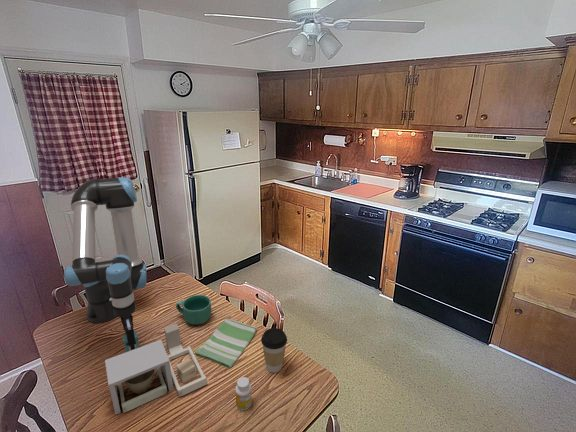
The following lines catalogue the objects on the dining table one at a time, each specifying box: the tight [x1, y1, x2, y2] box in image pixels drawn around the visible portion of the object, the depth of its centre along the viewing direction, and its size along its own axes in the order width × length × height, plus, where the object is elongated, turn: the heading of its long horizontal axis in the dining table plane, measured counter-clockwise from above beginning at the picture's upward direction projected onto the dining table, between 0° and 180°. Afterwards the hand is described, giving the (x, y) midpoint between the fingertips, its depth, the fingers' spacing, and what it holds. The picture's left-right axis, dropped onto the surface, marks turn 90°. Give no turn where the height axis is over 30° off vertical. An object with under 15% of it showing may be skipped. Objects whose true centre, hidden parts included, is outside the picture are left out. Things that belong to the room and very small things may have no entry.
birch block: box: [175, 358, 197, 384], centre depth 117 cm, size 5×5×5 cm
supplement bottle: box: [234, 376, 253, 411], centre depth 106 cm, size 5×5×10 cm
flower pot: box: [124, 368, 156, 395], centre depth 111 cm, size 10×10×7 cm
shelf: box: [104, 339, 174, 415], centre depth 110 cm, size 12×18×13 cm, turn 124°
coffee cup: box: [260, 327, 288, 374], centre depth 120 cm, size 10×10×15 cm
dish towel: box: [194, 317, 258, 369], centre depth 134 cm, size 18×23×3 cm
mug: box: [175, 294, 212, 325], centre depth 147 cm, size 17×13×10 cm
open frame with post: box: [164, 323, 208, 398], centre depth 120 cm, size 28×10×9 cm, turn 34°
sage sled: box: [117, 330, 168, 414], centre depth 116 cm, size 28×14×9 cm, turn 34°
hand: (133, 351), depth 126 cm, fingers closed on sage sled, 4 cm apart
